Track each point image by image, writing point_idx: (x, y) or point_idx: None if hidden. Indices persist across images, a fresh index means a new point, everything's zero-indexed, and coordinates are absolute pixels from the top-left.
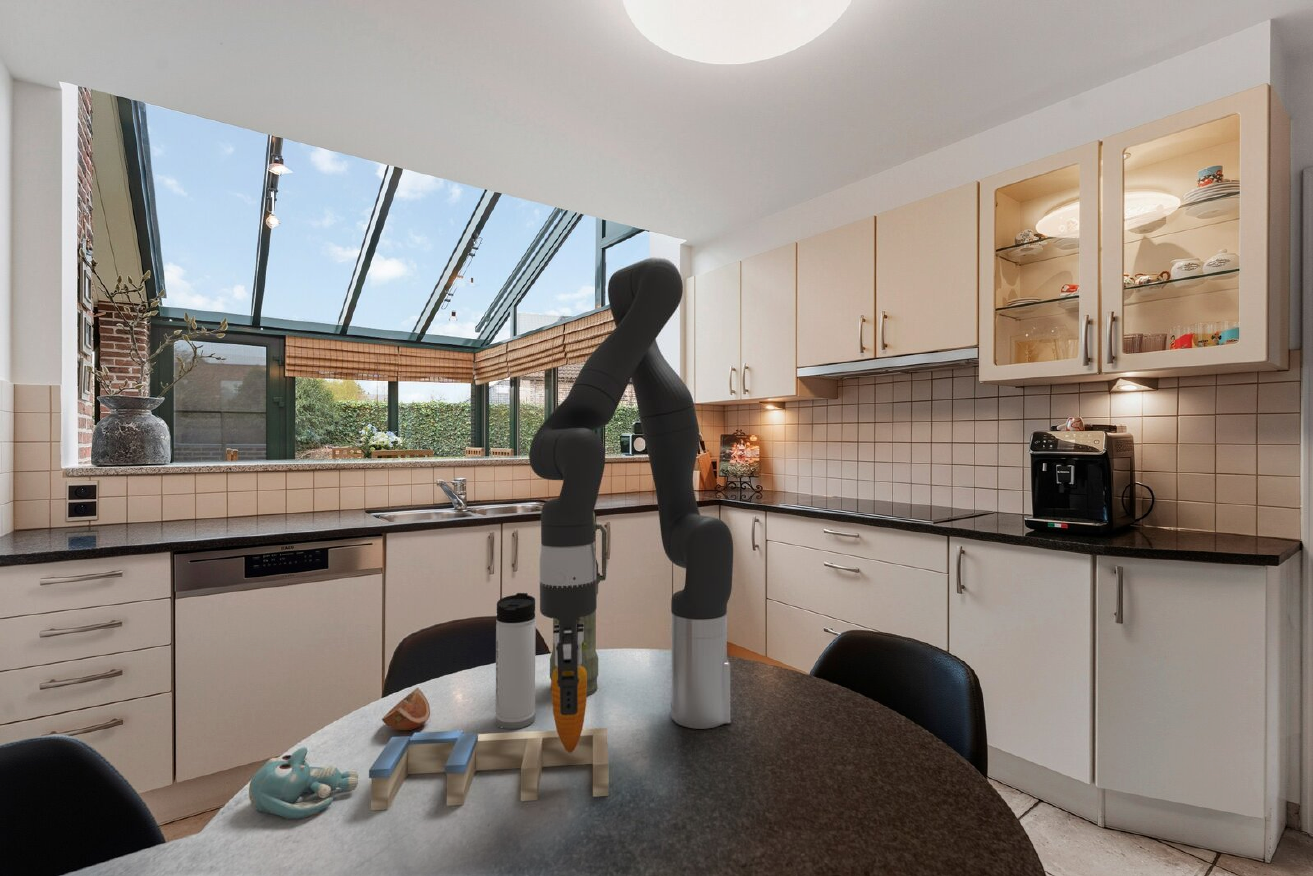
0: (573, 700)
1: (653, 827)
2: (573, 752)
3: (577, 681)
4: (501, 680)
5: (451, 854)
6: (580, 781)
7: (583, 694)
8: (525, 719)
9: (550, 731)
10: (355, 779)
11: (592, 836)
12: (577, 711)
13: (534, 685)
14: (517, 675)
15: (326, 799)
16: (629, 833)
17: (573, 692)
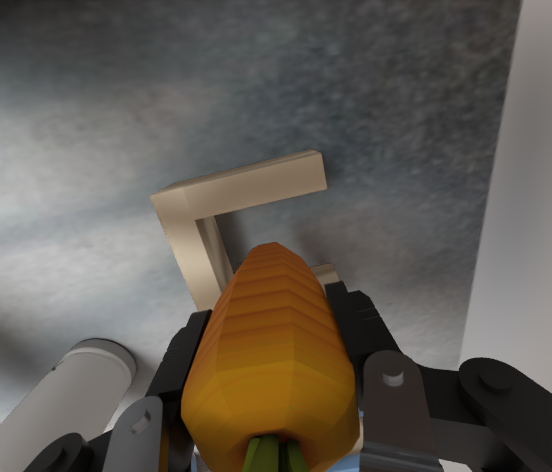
0: (379, 318)
1: (409, 34)
2: (216, 245)
3: (533, 383)
4: None
5: (447, 321)
6: (270, 211)
7: (300, 297)
8: (111, 354)
9: (200, 307)
10: None
11: (427, 151)
12: (342, 281)
13: (40, 397)
14: None
15: None
16: (424, 84)
17: (394, 342)
